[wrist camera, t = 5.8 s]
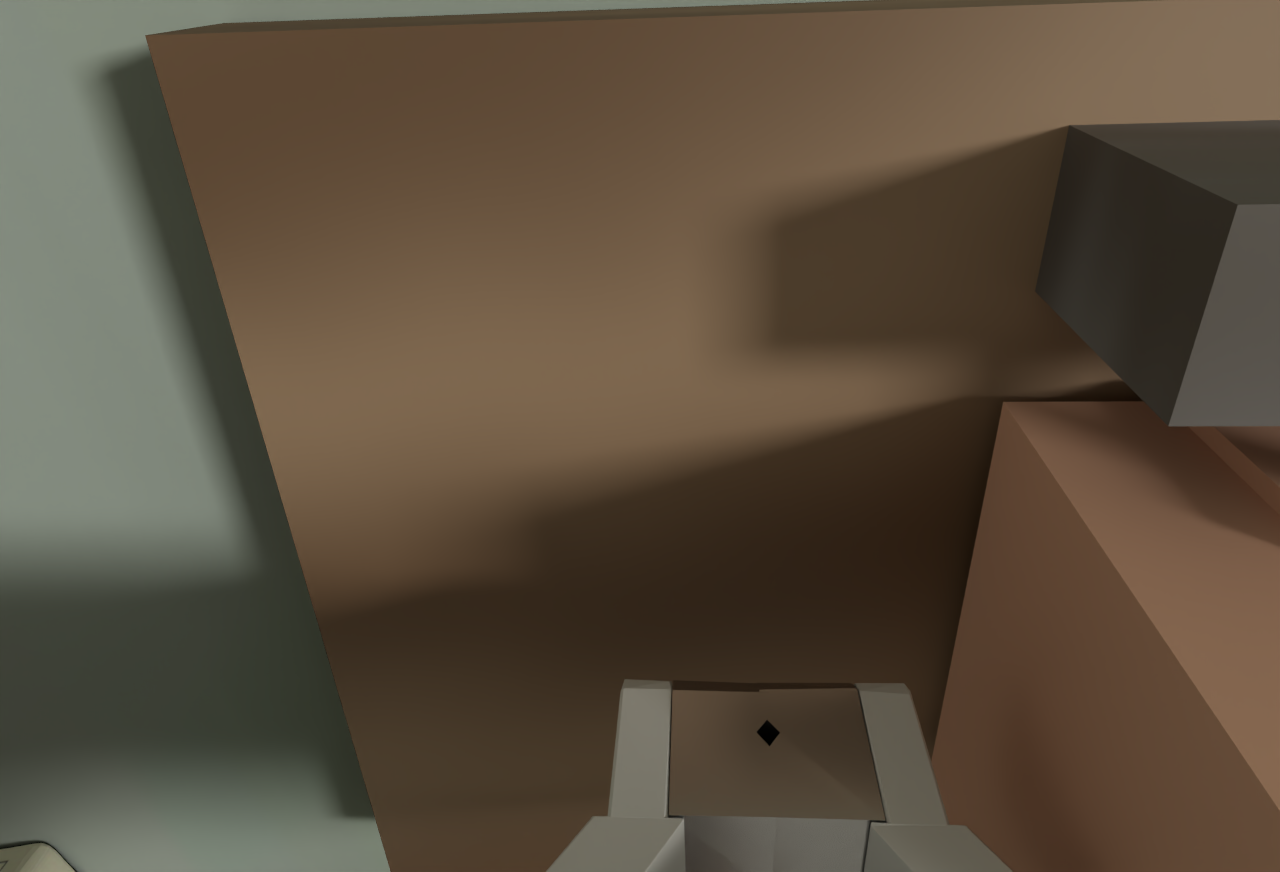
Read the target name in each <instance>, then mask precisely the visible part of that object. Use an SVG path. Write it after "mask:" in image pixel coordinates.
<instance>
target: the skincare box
mask: <svg viewBox="0 0 1280 872" xmlns="http://www.w3.org/2000/svg"><path fill="white" fill-rule="evenodd" d="M0 872H75V871H74V870H73V868H72V867H71V866H70V865H69V864H68V863H67V862H66V861H65V860H64V859H63V858H62V857H61V856H60V855H59V854H58V852H57V851H56V850H54V849H53V848H52V847H51V846H49V845H47V844H44V843H36V844H29V845H24V846H18V847H12V848H6V849H0Z"/></svg>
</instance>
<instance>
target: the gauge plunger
mask: <svg viewBox="0 0 1280 872" xmlns="http://www.w3.org/2000/svg"><path fill="white" fill-rule="evenodd" d="M931 763H932V766H933V770H934V773H935V776H936V780H937V783H938V787H939V790H940V793H941V797H942V800H943V804H944V807H945V810H946V814H947V817H948V821H949V824H950V825H965V826H967V827H968V828H969V829H970V830H971V831H972V832H973V833H974V834H975V835H976V836H977V837H978V838H979V839H980V840H981V841H982V842H983V843H984V844H986V845H987V846H988V847H989V848H990V849H991V850H992V851H993V852H994V853H995V854H996V855H997V856H998V857H999V858H1000V859H1001V860H1002V861H1003V862H1004V863H1005V864H1006V865H1007V866H1008V867H1009V868H1010V869H1011V870H1012V871H1013V872H1280V426H1167V425H1166V424H1165V423H1164V422H1163V421H1162V419H1161V418H1160V417H1159V416H1158V415H1157V414H1156V413H1155V412H1154V411H1153V410H1152V409H1151V408H1150V407H1149V406H1148V405H1147V404H1146V403H1145V402H1144V401H1111V402H1003V405H1002V410H1001V415H1000V420H999V425H998V430H997V435H996V440H995V445H994V450H993V455H992V460H991V465H990V470H989V475H988V480H987V485H986V490H985V495H984V500H983V505H982V510H981V515H980V520H979V525H978V530H977V535H976V540H975V545H974V550H973V555H972V560H971V565H970V570H969V575H968V580H967V585H966V590H965V595H964V600H963V605H962V610H961V615H960V620H959V625H958V630H957V635H956V640H955V645H954V650H953V655H952V660H951V665H950V670H949V675H948V680H947V685H946V690H945V695H944V700H943V705H942V710H941V715H940V720H939V725H938V730H937V735H936V740H935V745H934V750H933V755H932V760H931Z"/></svg>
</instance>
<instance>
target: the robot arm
mask: <svg viewBox="0 0 1280 872" xmlns="http://www.w3.org/2000/svg"><path fill="white" fill-rule="evenodd" d="M546 872H1013V871H1012V870H1011V869H1010V868H1009V867H1008V866H1007V865H1006V864H1005V863H1004V862H1003V861H1002V860H1001V859H1000V858H999V857H998V856H997V855H996V854H995V853H994V852H993V851H992V850H991V849H990V848H989V847H988V846H987V845H986V844H984V843H983V842H982V841H981V840H980V839H979V838H978V837H977V836H976V835H975V834H974V833H973V832H972V831H971V830H970V829H969V828H968V827H967V826H965V825H950V824H949V821H948V817H947V814H946V810H945V807H944V804H943V800H942V797H941V793H940V790H939V787H938V783H937V780H936V776H935V773H934V770H933V766H932V763H931V759H930V756H929V753H928V749H927V746H926V742H925V739H924V736H923V732H922V729H921V725H920V722H919V719H918V715H917V712H916V709H915V705H914V702H913V698H912V695H911V692H910V690H909V689H908V688H907V686H906V685H905V684H904V683H855V684H854V685H853V684H852V683H735V682H709V681H683V680H673V684H672V681H658V680H632V679H625V680H624V683H623V686H622V689H621V692H620V702H619V712H618V721H617V731H616V740H615V750H614V759H613V769H612V778H611V788H610V798H609V807H608V816H592V817H591V819H590V820H589V821H588V822H587V823H586V825H585V826H584V827H583V828H582V829H581V831H580V832H579V833H578V834H577V835H576V836H575V838H574V839H573V840H572V841H571V842H570V844H569V845H568V846H567V847H566V848H565V849H564V851H563V852H562V853H561V854H560V855H559V857H558V858H557V859H556V860H555V861H554V863H553V864H552V865H551V866H550V867H549V868H548V870H547V871H546Z"/></svg>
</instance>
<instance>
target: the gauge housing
mask: <svg viewBox="0 0 1280 872" xmlns="http://www.w3.org/2000/svg"><path fill="white" fill-rule="evenodd" d="M145 36H146V40H147V43H148V46H149V50H150V53H151V57H152V60H153V63H154V67H155V70H156V74H157V77H158V80H159V84H160V87H161V91H162V94H163V97H164V101H165V104H166V108H167V111H168V115H169V118H170V121H171V125H172V128H173V132H174V135H175V138H176V142H177V145H178V149H179V152H180V155H181V159H182V162H183V166H184V169H185V172H186V176H187V179H188V183H189V186H190V189H191V193H192V196H193V200H194V203H195V206H196V210H197V213H198V217H199V220H200V224H201V227H202V230H203V234H204V237H205V241H206V244H207V247H208V251H209V254H210V258H211V261H212V264H213V268H214V271H215V275H216V278H217V281H218V285H219V288H220V292H221V295H222V298H223V302H224V305H225V309H226V312H227V315H228V319H229V322H230V326H231V329H232V333H233V336H234V339H235V343H236V346H237V350H238V353H239V356H240V360H241V363H242V367H243V370H244V373H245V377H246V380H247V384H248V387H249V390H250V394H251V397H252V401H253V404H254V407H255V411H256V414H257V418H258V421H259V424H260V428H261V431H262V435H263V438H264V442H265V445H266V448H267V452H268V455H269V459H270V462H271V465H272V469H273V472H274V476H275V479H276V482H277V486H278V489H279V493H280V496H281V499H282V503H283V506H284V510H285V513H286V516H287V520H288V523H289V527H290V530H291V533H292V537H293V540H294V544H295V547H296V551H297V554H298V557H299V561H300V564H301V568H302V571H303V574H304V578H305V581H306V585H307V588H308V591H309V595H310V598H311V602H312V605H313V608H314V612H315V615H316V619H317V622H318V625H319V629H320V632H321V636H322V639H323V642H324V646H325V649H326V653H327V656H328V659H329V663H330V666H331V670H332V673H333V677H334V680H335V683H336V687H337V690H338V694H339V697H340V700H341V704H342V707H343V711H344V714H345V717H346V721H347V724H348V728H349V731H350V734H351V738H352V741H353V745H354V748H355V751H356V755H357V758H358V762H359V765H360V768H361V772H362V775H363V779H364V782H365V786H366V789H367V792H368V796H369V799H370V803H371V806H372V809H373V813H374V816H375V820H376V823H377V826H378V830H379V833H380V837H381V840H382V843H383V847H384V850H385V854H386V857H387V860H388V864H389V867H390V871H391V872H546V871H547V870H548V868H549V867H550V866H551V865H552V864H553V863H554V861H555V860H556V859H557V858H558V857H559V855H560V854H561V853H562V852H563V851H564V849H565V848H566V847H567V846H568V845H569V844H570V842H571V841H572V840H573V839H574V838H575V836H576V835H577V834H578V833H579V832H580V831H581V829H582V828H583V827H584V826H585V825H586V823H587V822H588V821H589V820H590V819H591V817H592V816H608V807H609V798H610V788H611V778H612V769H613V759H614V750H615V740H616V731H617V721H618V712H619V702H620V692H621V689H622V686H623V683H624V680H625V679H632V680H658V681H672V684H673V680H683V681H709V682H735V683H852V684H853V685H854V684H855V683H904V684H905V685H906V686H907V688H908V689H909V690H910V692H911V695H912V698H913V702H914V705H915V709H916V712H917V715H918V719H919V722H920V725H921V729H922V732H923V736H924V739H925V742H926V746H927V749H928V753H929V756H930V759H931V760H932V755H933V750H934V745H935V740H936V735H937V730H938V725H939V720H940V715H941V710H942V705H943V700H944V695H945V690H946V685H947V680H948V675H949V670H950V665H951V660H952V655H953V650H954V645H955V640H956V635H957V630H958V625H959V620H960V615H961V610H962V605H963V600H964V595H965V590H966V585H967V580H968V575H969V570H970V565H971V560H972V555H973V550H974V545H975V540H976V535H977V530H978V525H979V520H980V515H981V510H982V505H983V500H984V495H985V490H986V485H987V480H988V475H989V470H990V465H991V460H992V455H993V450H994V445H995V440H996V435H997V430H998V425H999V420H1000V415H1001V410H1002V405H1003V402H1111V401H1144V402H1145V403H1146V404H1147V405H1148V406H1149V407H1150V408H1151V409H1152V410H1153V411H1154V412H1155V413H1156V414H1157V415H1158V416H1159V417H1160V418H1161V419H1162V421H1163V422H1164V423H1165V424H1166V425H1167V426H1280V0H870V1H842V2H814V3H785V4H757V5H728V6H700V7H672V8H643V9H615V10H586V11H558V12H529V13H501V14H473V15H444V16H416V17H387V18H359V19H331V20H302V21H274V22H245V23H222V24H216V25H209V26H203V27H196V28H190V29H184V30H177V31H171V32H164V33H158V34H152V35H145Z"/></svg>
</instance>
